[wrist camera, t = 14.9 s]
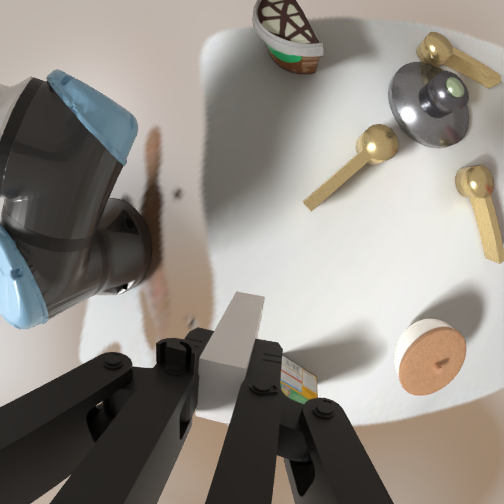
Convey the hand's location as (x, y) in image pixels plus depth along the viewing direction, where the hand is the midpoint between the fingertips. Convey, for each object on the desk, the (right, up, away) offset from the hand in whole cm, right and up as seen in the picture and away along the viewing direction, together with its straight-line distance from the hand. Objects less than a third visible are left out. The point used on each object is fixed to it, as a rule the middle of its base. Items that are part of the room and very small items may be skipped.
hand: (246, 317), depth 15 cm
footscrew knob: (+12, +14, +19) cm, 27 cm away
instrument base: (+29, +26, +15) cm, 42 cm away
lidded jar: (+26, -10, +22) cm, 36 cm away
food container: (+5, +32, +18) cm, 37 cm away
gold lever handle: (+34, +9, +17) cm, 39 cm away
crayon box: (+7, -15, +26) cm, 31 cm away
